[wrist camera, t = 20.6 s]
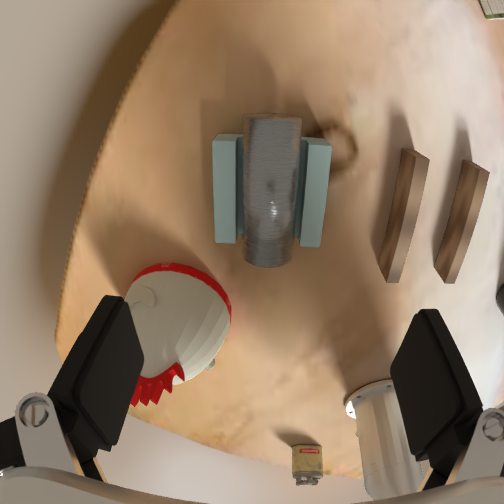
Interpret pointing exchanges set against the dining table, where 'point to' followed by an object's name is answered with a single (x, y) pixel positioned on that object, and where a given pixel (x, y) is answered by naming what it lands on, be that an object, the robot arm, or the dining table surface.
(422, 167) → the wooden blocks
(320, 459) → the jerry can
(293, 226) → the grey cylinder
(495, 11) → the syrup box
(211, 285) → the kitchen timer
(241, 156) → the cradle
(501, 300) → the supplement bottle
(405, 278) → the dining table surface
